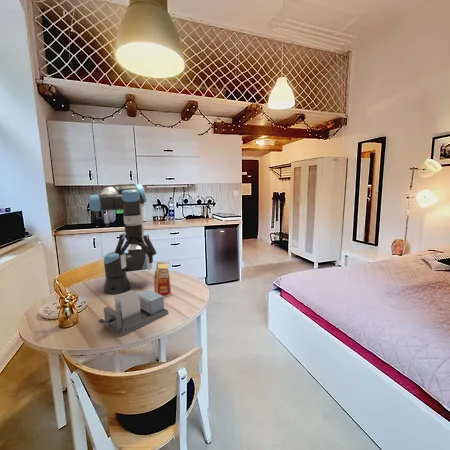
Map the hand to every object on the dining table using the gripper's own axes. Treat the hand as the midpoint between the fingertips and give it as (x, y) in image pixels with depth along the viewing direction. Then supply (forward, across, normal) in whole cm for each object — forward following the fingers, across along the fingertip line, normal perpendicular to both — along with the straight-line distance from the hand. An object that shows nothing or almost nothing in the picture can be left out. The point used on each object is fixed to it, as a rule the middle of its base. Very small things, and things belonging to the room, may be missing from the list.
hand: (136, 268), depth 120 cm
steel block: (+23, -3, -6) cm, 24 cm away
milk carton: (+25, -1, +26) cm, 36 cm away
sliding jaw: (+23, +3, +5) cm, 23 cm away
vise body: (+25, -2, -4) cm, 25 cm away
